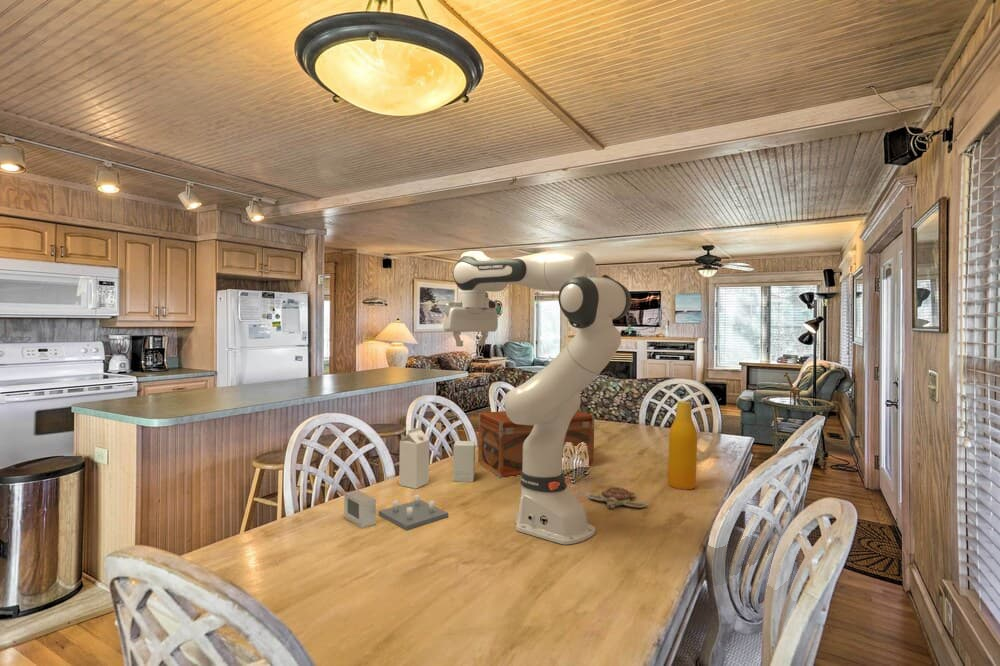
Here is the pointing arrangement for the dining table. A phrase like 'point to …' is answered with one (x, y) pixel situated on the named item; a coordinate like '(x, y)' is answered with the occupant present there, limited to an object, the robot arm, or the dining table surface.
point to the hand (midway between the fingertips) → (470, 346)
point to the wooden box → (521, 441)
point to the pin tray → (413, 513)
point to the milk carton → (414, 459)
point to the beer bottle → (682, 449)
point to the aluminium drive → (360, 508)
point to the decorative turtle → (617, 497)
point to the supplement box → (464, 461)
